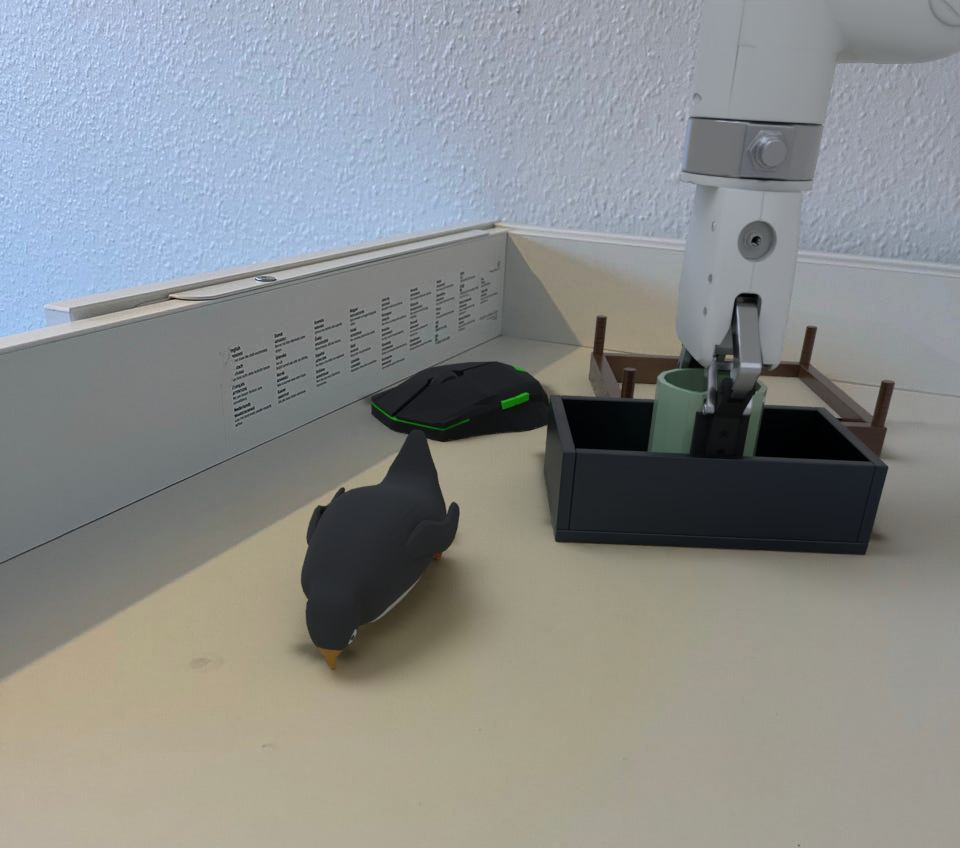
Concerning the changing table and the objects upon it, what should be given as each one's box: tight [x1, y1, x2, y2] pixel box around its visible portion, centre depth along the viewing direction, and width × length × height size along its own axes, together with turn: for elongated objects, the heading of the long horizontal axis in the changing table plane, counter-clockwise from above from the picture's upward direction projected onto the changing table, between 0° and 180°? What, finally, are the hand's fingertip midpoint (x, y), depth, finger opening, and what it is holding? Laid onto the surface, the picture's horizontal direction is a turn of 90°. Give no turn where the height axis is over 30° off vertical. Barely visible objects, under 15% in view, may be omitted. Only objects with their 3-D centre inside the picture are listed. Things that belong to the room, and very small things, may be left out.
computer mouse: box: [370, 360, 550, 442], centre depth 83 cm, size 11×16×4 cm
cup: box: [648, 368, 768, 457], centre depth 65 cm, size 7×7×8 cm
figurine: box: [300, 430, 461, 670], centre depth 51 cm, size 7×10×15 cm
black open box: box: [543, 394, 889, 555], centre depth 66 cm, size 20×13×6 cm, turn 90°
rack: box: [588, 314, 896, 459], centre depth 87 cm, size 21×21×6 cm
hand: (700, 454), depth 65 cm, fingers closed on cup, 6 cm apart
